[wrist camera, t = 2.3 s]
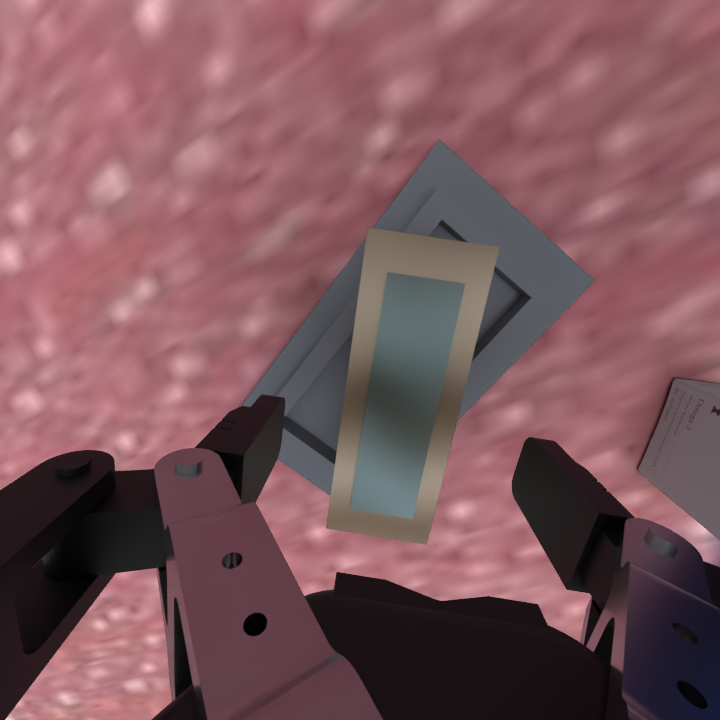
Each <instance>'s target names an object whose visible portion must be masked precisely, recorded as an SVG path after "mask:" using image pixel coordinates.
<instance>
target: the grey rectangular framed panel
mask: <svg viewBox="0 0 720 720" xmlns="http://www.w3.org/2000/svg"><path fill="white" fill-rule="evenodd" d="M373 229H380V230H387V231H394V232H400V233H407V234H414V235H421V236H428V237H435V238H441V239H448V240H455V241H462V242H469V243H476V244H483V245H489V246H496V247H500V248H499V252H498V256H497V260H496V264H495V268H494V272H493V276H492V280H491V284H490V288H489V292H488V297H487V301H486V305H485V309H484V313H483V317H482V321H481V325H480V329H479V333H478V337H477V341H476V346H475V350H474V354H473V358H472V362H471V366H470V370H469V374H468V378H467V382H466V386H465V391H464V395H463V399H462V403H461V407H460V411H459V415H458V419H457V421H458V420H459V419H460V418H461V417H462V416H463V415H464V414H465V413H466V412H467V411H468V410H469V409H470V408H471V407H472V406H473V405H474V404H475V403H476V402H477V401H478V400H479V399H480V397H481V396H482V395H483V394H484V393H485V392H486V391H487V390H488V389H489V388H490V387H491V386H492V385H493V384H494V383H495V382H496V381H497V380H498V379H499V378H500V377H501V376H502V375H503V374H504V373H505V372H506V371H507V370H508V369H509V368H510V367H511V366H512V365H513V364H514V363H515V362H516V361H517V360H518V359H519V358H520V357H521V356H522V355H523V354H524V353H525V352H526V351H527V350H528V349H529V348H530V347H531V345H532V344H533V343H534V342H535V341H536V340H537V339H538V338H539V337H540V336H541V335H542V334H543V333H544V332H545V331H546V330H547V329H548V328H549V327H550V326H551V325H552V324H553V323H554V322H555V321H556V320H557V319H558V318H559V317H560V316H561V315H562V314H563V313H564V312H565V311H566V310H567V309H568V308H569V307H570V306H571V305H572V304H573V303H574V302H575V301H576V300H577V299H578V298H579V297H580V296H581V295H582V293H583V292H584V291H585V290H586V289H587V288H588V287H589V286H590V285H591V284H592V283H593V282H594V281H595V280H594V279H593V278H592V277H591V276H590V275H588V274H587V273H586V272H585V271H584V270H583V269H582V268H581V267H580V266H579V265H577V264H576V263H575V262H574V261H573V260H572V259H571V258H570V257H569V256H568V255H566V254H565V253H564V252H563V251H562V250H561V249H560V248H559V247H558V246H557V245H555V244H554V243H553V242H552V241H551V240H550V239H549V238H548V237H547V236H545V235H544V234H543V233H542V232H541V231H540V230H539V229H538V228H537V227H536V226H534V225H533V224H532V223H531V222H530V221H529V220H528V219H527V218H526V217H525V216H523V215H522V214H521V213H520V212H519V211H518V210H517V209H516V208H515V207H514V206H512V205H511V204H510V203H509V202H508V201H507V200H506V199H505V198H504V197H502V196H501V195H500V194H499V193H498V192H497V191H496V190H495V189H494V188H493V187H491V186H490V185H489V184H488V183H487V182H486V181H485V180H484V179H483V178H482V177H480V176H479V175H478V174H477V173H476V172H475V171H474V170H473V169H472V168H471V167H469V166H468V165H467V164H466V163H465V162H464V161H463V160H462V159H461V158H459V157H458V156H457V155H456V154H455V153H454V152H453V151H452V150H451V149H450V148H448V147H447V146H446V145H445V144H444V143H443V142H442V141H441V140H440V139H439V141H438V142H437V143H436V145H435V146H434V147H433V149H432V150H431V151H430V153H429V154H428V155H427V157H426V158H425V159H424V161H423V162H422V164H421V165H420V166H419V168H418V169H417V170H416V172H415V173H414V174H413V176H412V177H411V178H410V180H409V181H408V182H407V184H406V185H405V186H404V188H403V189H402V190H401V192H400V193H399V195H398V196H397V197H396V199H395V200H394V201H393V203H392V204H391V205H390V207H389V208H388V209H387V211H386V212H385V213H384V215H383V216H382V217H381V219H380V220H379V222H378V223H377V224H376V226H375V227H374V228H373ZM365 244H366V239H365V240H364V242H363V243H362V244H361V246H360V247H359V248H358V250H357V251H356V253H355V254H354V255H353V257H352V258H351V259H350V261H349V262H348V263H347V265H346V266H345V267H344V269H343V270H342V271H341V273H340V274H339V275H338V277H337V278H336V279H335V281H334V282H333V284H332V285H331V286H330V288H329V289H328V290H327V292H326V293H325V294H324V296H323V297H322V298H321V300H320V301H319V302H318V304H317V305H316V306H315V308H314V309H313V310H312V312H311V313H310V315H309V316H308V317H307V319H306V320H305V321H304V323H303V324H302V325H301V327H300V328H299V329H298V331H297V332H296V333H295V335H294V336H293V337H292V339H291V340H290V341H289V343H288V344H287V346H286V347H285V348H284V350H283V351H282V352H281V354H280V355H279V356H278V358H277V359H276V360H275V362H274V363H273V364H272V366H271V367H270V368H269V370H268V371H267V372H266V374H265V375H264V377H263V378H262V379H261V381H260V382H259V383H258V385H257V386H256V387H255V389H254V390H253V391H252V393H251V394H250V395H249V397H248V398H247V399H246V401H245V402H244V403H243V405H242V406H247V407H251V406H252V405H253V404H254V402H255V401H256V400H257V399H258V398H259V397H260V395H261V394H265V395H271V396H277V397H284V398H285V413H284V423H283V434H282V443H281V448H280V452H279V456H278V458H277V459H278V460H280V461H281V462H283V463H284V464H286V465H287V466H288V467H290V468H291V469H293V470H294V471H296V472H297V473H298V474H300V475H301V476H303V477H304V478H306V479H307V480H309V481H310V482H311V483H313V484H314V485H316V486H317V487H319V488H320V489H321V490H323V491H324V492H326V493H327V494H329V495H330V496H331V489H332V482H333V475H334V468H335V461H336V453H337V446H338V439H339V432H340V424H341V417H342V410H343V403H344V396H345V388H346V381H347V374H348V367H349V359H350V352H351V345H352V338H353V331H354V323H355V316H356V309H357V302H358V294H359V287H360V280H361V273H362V266H363V258H364V251H365Z"/></svg>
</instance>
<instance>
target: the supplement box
mask: <svg viewBox="0 0 720 720" xmlns="http://www.w3.org/2000/svg"><path fill="white" fill-rule="evenodd" d="M638 472H639V473H640V474H641V475H642V476H643V477H644V478H646V479H647V480H648V481H649V482H650V483H652V484H653V485H654V486H655V487H656V488H658V489H659V490H660V491H661V492H662V493H664V494H665V495H666V496H667V497H668V498H670V499H671V500H672V501H673V502H674V503H676V504H677V505H678V506H679V507H681V508H682V509H683V510H684V511H685V512H686V513H688V514H689V515H690V516H691V517H693V518H694V519H695V520H696V521H697V522H698V523H700V524H701V525H702V526H703V527H704V528H706V529H707V530H708V531H709V532H711V533H712V534H713V535H714V536H715V537H717V538H718V539H719V540H720V384H717V383H709V382H701V381H693V380H685V379H674V381H673V384H672V387H671V390H670V393H669V396H668V399H667V402H666V404H665V407H664V410H663V412H662V415H661V417H660V420H659V422H658V425H657V427H656V429H655V432H654V434H653V437H652V439H651V441H650V444H649V447H648V449H647V451H646V453H645V455H644V458H643V460H642V462H641V464H640V466H639V468H638Z"/></svg>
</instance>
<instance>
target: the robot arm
mask: <svg viewBox="0 0 720 720" xmlns="http://www.w3.org/2000/svg"><path fill="white" fill-rule="evenodd" d="M284 413H285V398H284V397H277V396H271V395H265V394H261V395H260V397H259V398H258V399H257V400H256V401H255V402H254V404H253V405H252V406H251V407H247V406H241V407H239V408H237V409H235V410H232V411H230V412H229V413H228V414H227V415H226V416H225V417H224V418H223V419H222V421H220V422H219V423H218V424H217V425H216V426H215V428H213V429H212V431H211V432H210V433H209V434H208V435H207V436H206V437H205V438H204V439H203V440H202V441H201V442H200V443H199V444H198V445H197V446H196V447H195V448H188V449H182V450H178V451H175V452H172V453H169V454H167V455H166V456H164V457H162V458H161V459H160V460H159V461H158V462H157V463H156V465H155V467H154V469H149V470H131V471H115V464H114V458H113V457H112V456H111V455H110V454H108V453H106V452H102V451H96V450H84V451H75V452H70V453H66V454H62V455H59V456H56V457H53V458H51V459H49V460H47V461H45V462H43V463H41V464H39V465H38V466H36V467H35V468H33V469H32V470H30V471H29V472H27V473H26V474H24V475H23V476H21V477H20V478H18V479H17V480H15V481H14V482H12V483H11V484H9V485H8V486H6V487H5V488H3V489H2V490H0V720H5V719H6V718H7V716H8V715H9V714H10V712H11V711H12V710H13V708H14V707H15V706H16V704H17V703H18V702H19V700H20V699H21V698H22V696H23V695H24V694H25V692H26V691H27V690H28V689H29V687H30V686H31V685H32V683H33V682H34V681H35V679H36V678H37V677H38V675H39V674H40V673H41V671H42V670H43V669H44V667H45V666H46V665H47V663H48V662H49V661H50V659H51V658H52V657H53V655H54V654H55V653H56V651H57V650H58V649H59V647H60V646H61V645H62V644H63V642H64V641H65V640H66V638H67V637H68V636H69V634H70V633H71V632H72V630H73V629H74V628H75V626H76V625H77V624H78V622H79V621H80V620H81V618H82V617H83V616H84V614H85V613H86V612H87V610H88V609H89V608H90V606H91V605H92V604H93V602H94V601H95V600H96V599H97V597H98V596H99V595H100V593H101V592H102V591H103V589H104V588H105V587H106V585H107V584H108V583H109V581H110V580H111V579H112V577H113V576H114V575H115V573H120V572H127V571H135V570H143V569H151V568H156V570H157V578H158V585H159V592H160V599H161V607H162V614H163V621H164V628H165V635H166V643H167V654H168V668H169V680H170V690H171V698H172V702H171V703H170V704H169V705H168V706H167V707H165V708H164V709H163V710H162V711H161V712H160V713H159V714H157V715H156V716H155V717H154V718H153V719H152V720H720V567H718V566H715V565H712V564H709V563H707V562H704V561H703V559H702V557H701V555H700V553H699V552H698V551H697V549H696V548H695V547H694V546H693V545H692V544H690V543H689V542H688V541H687V540H685V539H684V538H683V537H681V536H680V535H678V534H677V533H675V532H673V531H672V530H670V529H668V528H666V527H664V526H662V525H660V524H657V523H655V522H652V521H649V520H646V519H641V518H635V517H634V516H633V515H632V514H631V513H630V512H629V511H628V510H627V509H626V508H625V507H624V506H623V505H622V504H621V503H620V502H619V501H618V500H617V499H616V498H615V497H614V496H613V495H612V494H611V493H610V492H607V491H606V490H607V489H606V488H605V487H604V486H603V485H602V484H601V483H600V482H597V479H596V478H595V477H594V476H593V475H592V474H591V473H590V472H589V471H588V470H587V469H585V468H584V467H582V466H581V465H579V464H578V463H576V462H575V461H574V460H573V459H572V458H571V457H570V456H569V455H568V454H567V453H566V452H565V451H564V450H563V449H562V448H561V447H560V446H559V445H558V444H557V443H556V442H555V441H551V440H545V439H539V438H532V437H529V438H527V439H526V441H525V442H524V445H523V448H522V451H521V454H520V457H519V460H518V463H517V466H516V470H515V473H514V476H513V479H512V493H513V496H514V498H515V500H516V502H517V504H518V506H519V507H520V509H521V511H522V512H523V514H524V516H525V518H526V519H527V521H528V523H529V525H530V526H531V528H532V530H533V532H534V533H535V535H536V537H537V539H538V540H539V542H540V544H541V546H542V547H543V549H544V551H545V553H546V554H547V556H548V558H549V559H550V561H551V563H552V565H553V566H554V568H555V570H556V572H557V573H558V575H559V577H560V579H561V580H562V582H563V584H564V586H565V587H566V589H567V590H573V591H579V592H585V593H590V594H591V596H592V597H591V599H590V601H589V603H588V606H587V608H586V613H585V618H584V623H583V628H582V633H581V638H580V642H578V641H577V640H575V639H573V638H572V637H570V636H568V635H567V634H565V633H563V632H561V631H559V630H557V629H555V628H553V627H551V626H548V625H547V623H546V621H545V619H544V616H543V614H542V612H541V610H540V608H539V606H538V604H533V603H527V602H520V601H514V600H508V599H502V598H495V597H489V596H487V597H477V598H468V599H458V600H448V601H439V600H435V599H432V598H430V597H427V596H425V595H422V594H420V593H417V592H415V591H412V590H410V589H407V588H405V587H402V586H400V585H397V584H395V583H392V582H390V581H387V580H383V579H377V578H371V577H364V576H358V575H352V574H346V573H339V572H337V574H336V580H335V585H334V590H326V591H321V592H316V593H312V594H309V595H306V596H304V595H303V593H302V591H301V589H300V587H299V585H298V583H297V581H296V579H295V577H294V575H293V573H292V571H291V570H290V568H289V566H288V564H287V562H286V560H285V558H284V556H283V554H282V552H281V550H280V548H279V546H278V544H277V543H276V541H275V539H274V537H273V535H272V533H271V531H270V529H269V527H268V525H267V523H266V521H265V519H264V517H263V516H262V514H261V512H260V510H259V508H258V506H257V504H256V501H257V499H258V497H259V495H260V493H261V491H262V489H263V487H264V485H265V483H266V481H267V479H268V477H269V475H270V473H271V471H272V469H273V467H274V465H275V463H276V461H277V458H278V456H279V452H280V448H281V443H282V434H283V423H284ZM33 566H34V567H33Z"/></svg>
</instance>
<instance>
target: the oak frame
mask: <svg viewBox="0 0 720 720" xmlns="http://www.w3.org/2000/svg"><path fill="white" fill-rule="evenodd" d="M499 248H500V247H496V246H489V245H483V244H476V243H469V242H462V241H455V240H448V239H441V238H435V237H428V236H421V235H414V234H407V233H400V232H394V231H387V230H380V229H373V228H368V229H367V237H366V244H365V251H364V258H363V266H362V273H361V280H360V287H359V294H358V302H357V309H356V316H355V323H354V331H353V338H352V345H351V352H350V359H349V367H348V374H347V381H346V388H345V396H344V403H343V410H342V417H341V424H340V432H339V439H338V446H337V453H336V461H335V468H334V475H333V482H332V489H331V497H330V504H329V511H328V518H327V526H326V528H327V529H334V530H340V531H346V532H352V533H358V534H365V535H371V536H377V537H383V538H389V539H395V540H402V541H408V542H414V543H420V544H426V545H427V542H428V538H429V533H430V529H431V525H432V521H433V517H434V513H435V509H436V505H437V501H438V497H439V493H440V489H441V484H442V480H443V476H444V472H445V468H446V464H447V460H448V456H449V452H450V448H451V444H452V440H453V435H454V431H455V427H456V423H457V419H458V415H459V411H460V407H461V403H462V399H463V395H464V391H465V386H466V382H467V378H468V374H469V370H470V366H471V362H472V358H473V354H474V350H475V346H476V341H477V337H478V333H479V329H480V325H481V321H482V317H483V313H484V309H485V305H486V301H487V297H488V292H489V288H490V284H491V280H492V276H493V272H494V268H495V264H496V260H497V256H498V252H499Z"/></svg>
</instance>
